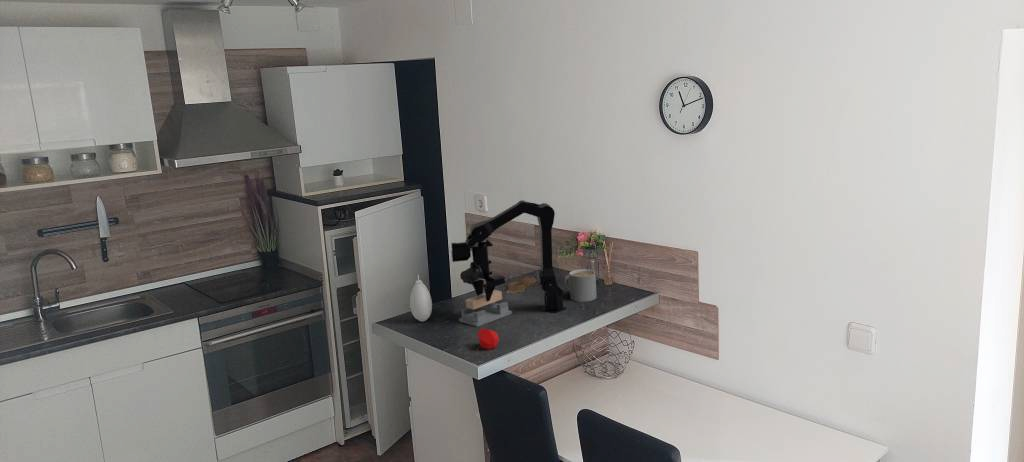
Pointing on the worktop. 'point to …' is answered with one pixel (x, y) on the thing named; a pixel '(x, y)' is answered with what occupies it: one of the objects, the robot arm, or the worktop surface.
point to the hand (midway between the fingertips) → (484, 300)
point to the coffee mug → (582, 285)
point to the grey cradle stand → (484, 314)
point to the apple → (488, 339)
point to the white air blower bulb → (420, 301)
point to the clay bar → (483, 300)
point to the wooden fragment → (520, 285)
